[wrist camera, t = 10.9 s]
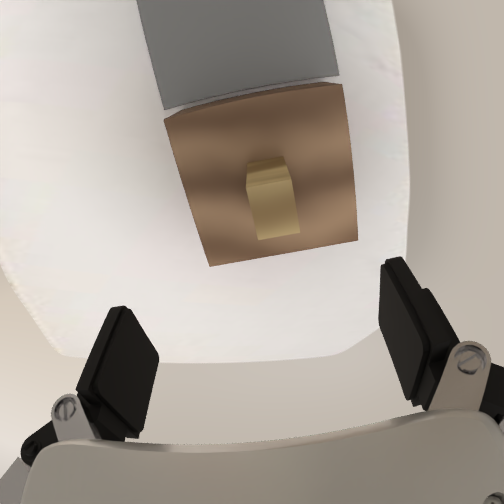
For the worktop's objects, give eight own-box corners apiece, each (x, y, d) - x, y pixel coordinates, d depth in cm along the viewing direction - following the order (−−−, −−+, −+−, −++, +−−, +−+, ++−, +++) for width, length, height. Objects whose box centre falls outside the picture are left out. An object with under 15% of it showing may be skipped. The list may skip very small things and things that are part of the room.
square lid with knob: (182, 109, 30) (139, 133, 18) (322, 81, 28) (367, 88, 17) (216, 231, 37) (201, 307, 26) (340, 208, 36) (377, 277, 24)
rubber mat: (130, -33, 20) (129, -34, 20) (300, -70, 18) (301, -72, 18) (165, 109, 30) (164, 110, 29) (338, 75, 28) (339, 75, 27)
